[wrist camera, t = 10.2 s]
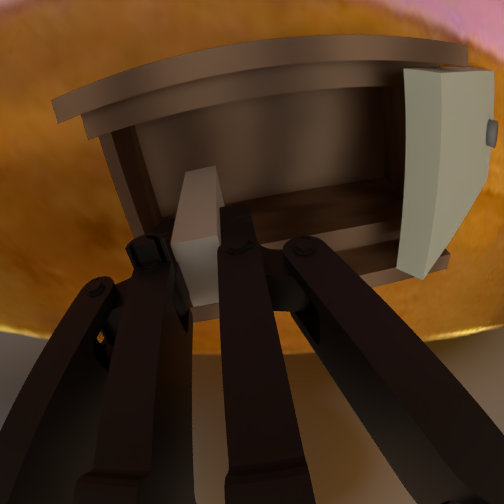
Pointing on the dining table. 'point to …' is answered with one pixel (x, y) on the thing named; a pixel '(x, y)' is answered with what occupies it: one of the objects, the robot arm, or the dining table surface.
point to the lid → (443, 157)
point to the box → (270, 139)
